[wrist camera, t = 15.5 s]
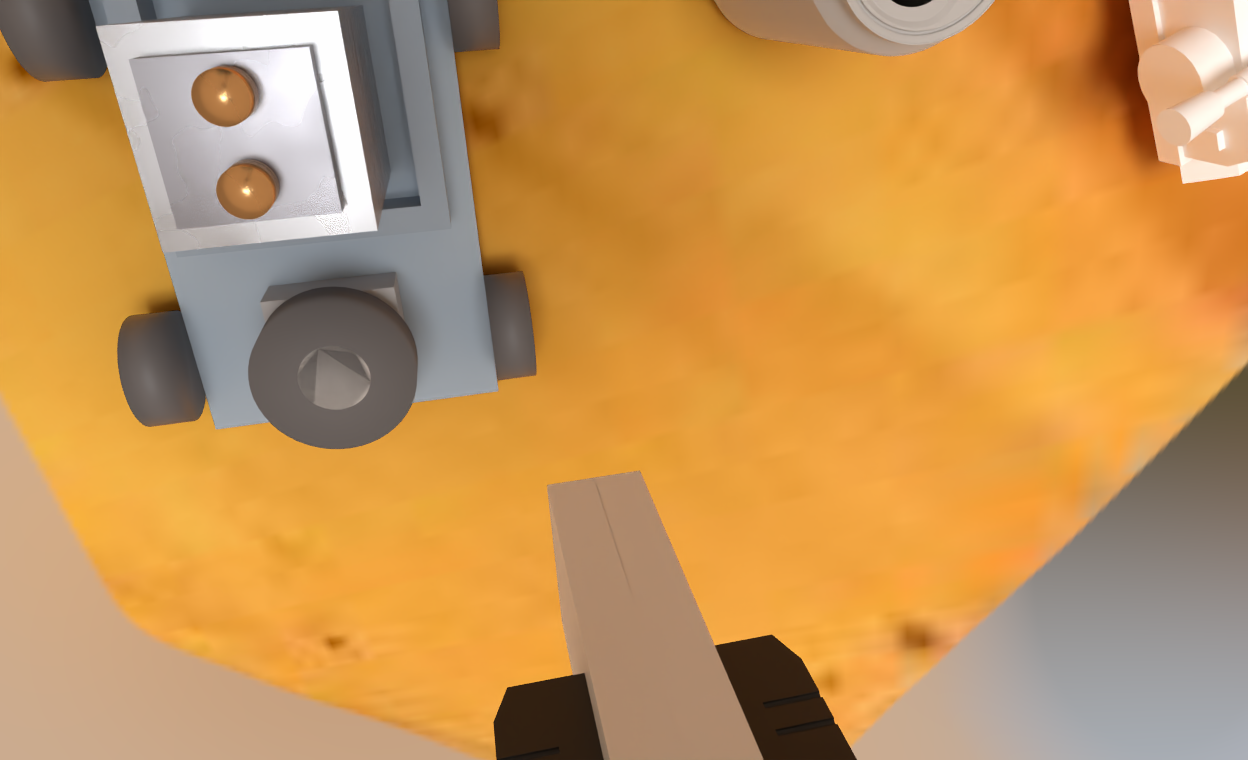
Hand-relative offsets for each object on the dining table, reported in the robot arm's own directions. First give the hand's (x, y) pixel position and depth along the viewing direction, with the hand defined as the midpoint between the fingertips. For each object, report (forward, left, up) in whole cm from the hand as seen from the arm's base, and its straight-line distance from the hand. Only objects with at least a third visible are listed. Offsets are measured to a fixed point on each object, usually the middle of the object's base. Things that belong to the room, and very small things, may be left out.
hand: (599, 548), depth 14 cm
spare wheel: (+4, -7, -23) cm, 24 cm away
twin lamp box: (-5, -7, -23) cm, 25 cm away
